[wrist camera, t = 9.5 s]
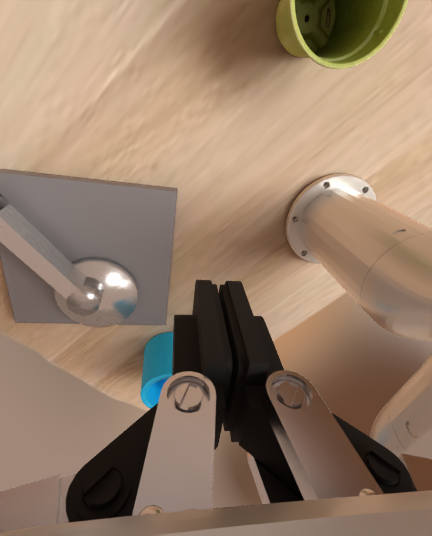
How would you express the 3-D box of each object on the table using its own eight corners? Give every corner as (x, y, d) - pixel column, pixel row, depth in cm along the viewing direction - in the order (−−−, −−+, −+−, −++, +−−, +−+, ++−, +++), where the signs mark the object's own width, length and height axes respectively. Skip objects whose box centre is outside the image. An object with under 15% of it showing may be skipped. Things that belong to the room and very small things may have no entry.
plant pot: (255, -43, 26) (291, -98, 19) (356, -54, 27) (429, -111, 19) (260, 80, 31) (289, 75, 24) (345, 69, 32) (399, 61, 24)
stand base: (176, 188, 35) (177, 193, 34) (165, 318, 45) (165, 328, 43) (-16, 166, 31) (-27, 171, 30) (17, 315, 41) (10, 325, 39)
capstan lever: (29, 162, 30) (8, 172, 26) (153, 297, 41) (152, 318, 37) (-42, 213, 32) (-71, 230, 28) (96, 330, 42) (88, 355, 38)
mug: (164, 375, 51) (164, 419, 44) (133, 348, 47) (127, 392, 40) (223, 341, 49) (232, 382, 42) (195, 311, 45) (200, 350, 38)
